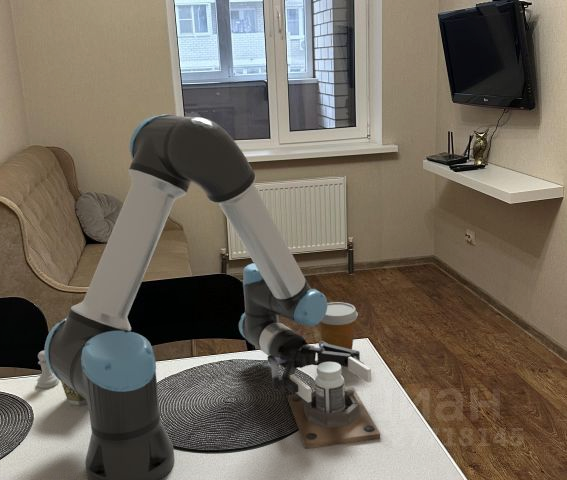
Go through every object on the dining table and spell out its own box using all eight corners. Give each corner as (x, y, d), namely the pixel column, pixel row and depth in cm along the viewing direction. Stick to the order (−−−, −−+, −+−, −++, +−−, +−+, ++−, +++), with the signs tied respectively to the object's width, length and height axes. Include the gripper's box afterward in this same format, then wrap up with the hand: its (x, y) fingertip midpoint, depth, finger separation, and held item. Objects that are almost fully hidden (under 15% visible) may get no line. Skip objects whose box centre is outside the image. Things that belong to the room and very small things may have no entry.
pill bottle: (345, 405, 130) (344, 360, 127) (345, 421, 124) (344, 373, 121) (316, 405, 130) (315, 360, 128) (315, 420, 125) (313, 373, 122)
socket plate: (305, 448, 118) (305, 431, 117) (287, 399, 135) (287, 384, 134) (380, 438, 120) (380, 421, 119) (353, 391, 137) (353, 376, 136)
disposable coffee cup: (363, 362, 150) (363, 313, 147) (323, 368, 148) (322, 318, 145) (350, 345, 159) (350, 299, 156) (313, 350, 157) (311, 304, 154)
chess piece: (32, 387, 144) (27, 354, 142) (45, 377, 149) (40, 345, 147) (50, 389, 143) (45, 356, 141) (63, 379, 147) (58, 347, 145)
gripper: (332, 347, 147) (392, 385, 129) (232, 376, 135) (283, 422, 117) (331, 316, 145) (392, 350, 127) (230, 343, 133) (281, 385, 115)
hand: (340, 385), depth 122 cm, fingers open, 13 cm apart
